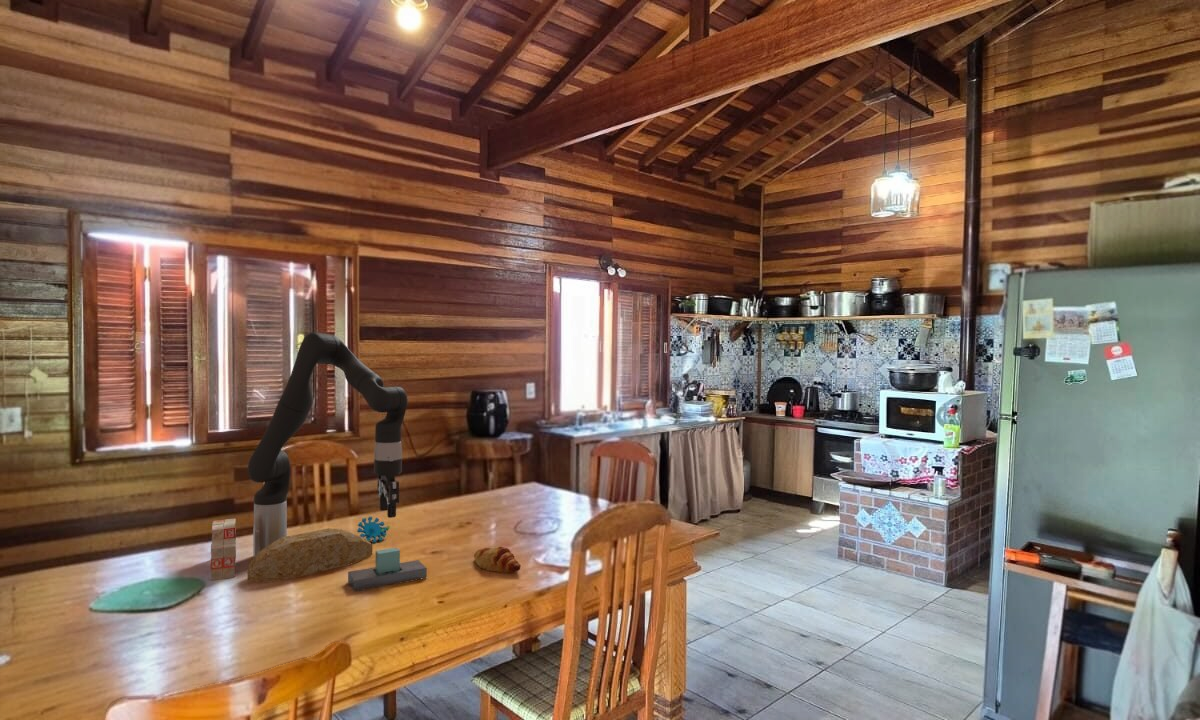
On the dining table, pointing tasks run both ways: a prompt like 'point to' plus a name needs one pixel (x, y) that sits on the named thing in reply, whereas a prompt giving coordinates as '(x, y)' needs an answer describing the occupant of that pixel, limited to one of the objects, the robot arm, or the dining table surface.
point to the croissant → (497, 559)
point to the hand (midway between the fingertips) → (387, 513)
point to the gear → (372, 529)
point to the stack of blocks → (223, 549)
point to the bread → (307, 554)
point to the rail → (386, 576)
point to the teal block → (387, 560)
